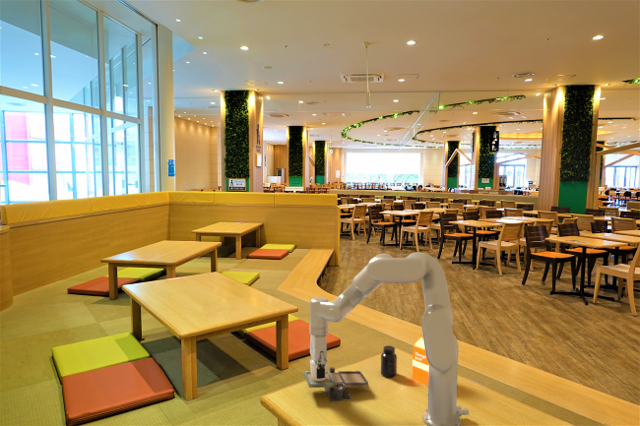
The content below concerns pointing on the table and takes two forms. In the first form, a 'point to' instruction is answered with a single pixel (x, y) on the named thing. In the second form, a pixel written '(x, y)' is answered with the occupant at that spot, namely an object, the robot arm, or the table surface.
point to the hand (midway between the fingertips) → (318, 373)
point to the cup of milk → (314, 370)
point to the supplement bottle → (388, 362)
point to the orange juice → (420, 362)
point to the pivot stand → (337, 390)
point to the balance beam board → (338, 379)
